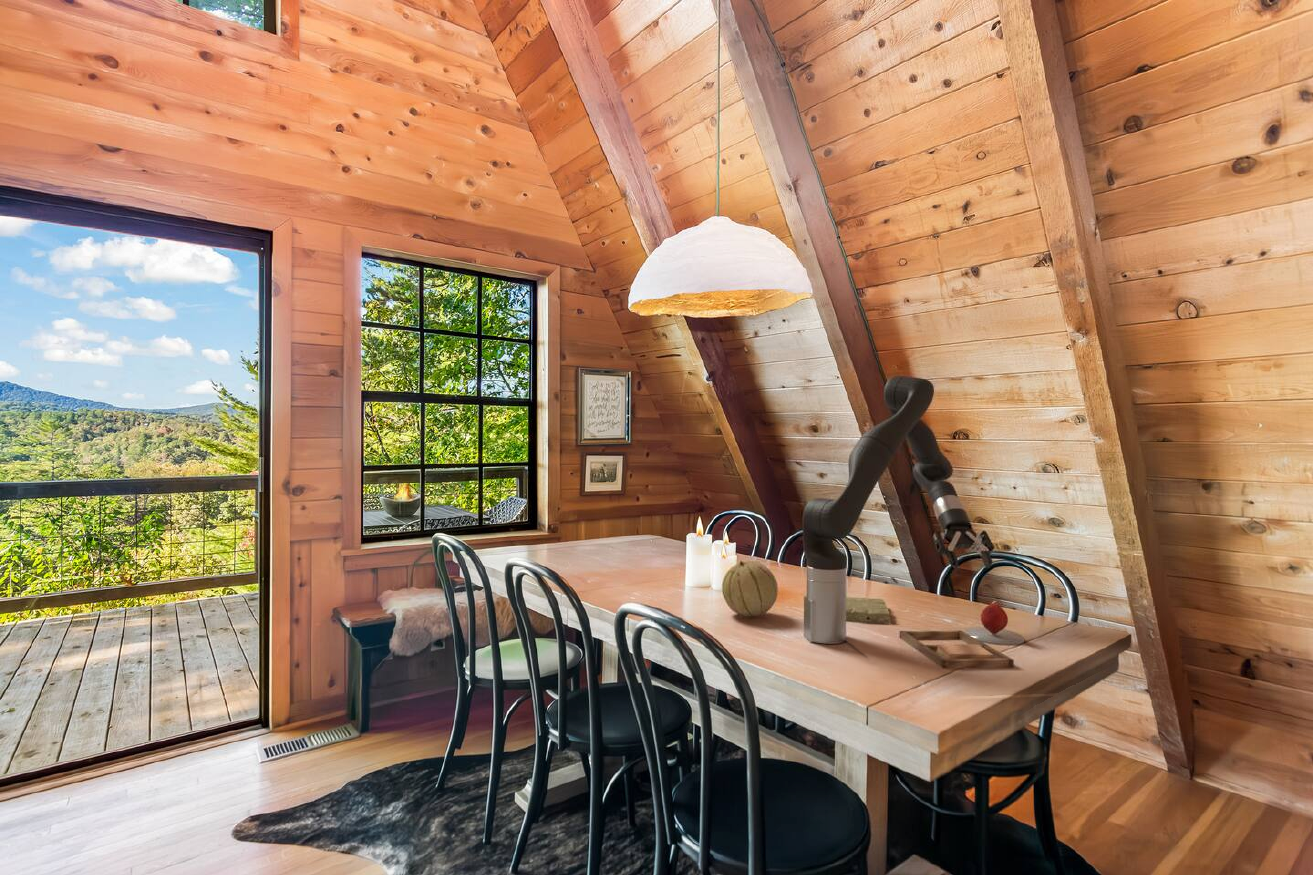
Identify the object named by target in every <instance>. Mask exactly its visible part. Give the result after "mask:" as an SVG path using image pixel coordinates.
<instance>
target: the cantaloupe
mask: <svg viewBox="0 0 1313 875" xmlns="http://www.w3.org/2000/svg"><path fill="white" fill-rule="evenodd" d="M721 586H722V587H721V588H722V589H721V591H722V596H723V599H724V601H725V603H726V604H727V606H728V607H729V609H730V610H731V611H732V612H734V613H735V614H737V615H739V616H742V617H753V618H754V617H758V616H763V615H764V614H766V613H768V612H769V611H770V610H771V609H772V607H773V606H774V604H775V603H776V601H777V598H778V595H779V594H778V592H779V591H778V590H779V588H778V582H777V580H776V576H775V575H774V574H773V572H772V571H771V570H770V569H769V568H768V567H767V566H765V565H764V564H762V563H761V562H758V561H754V560H748V561H743V560H740V561H739V562H738V563H737V564H735V565H733V566H732V567H730V568H729V570H727V572H726V573H725V575H724V576H723V579H722V584H721Z"/></svg>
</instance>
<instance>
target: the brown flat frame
mask: <svg viewBox="0 0 1313 875" xmlns="http://www.w3.org/2000/svg"><path fill="white" fill-rule="evenodd" d="M899 639H901V640H902V641H904V642H905V643H906V644H907V645H909V646H910V647H912V648H914V649H915V650H916V651H918V652H919V653H921V654H922V655H923V656H925V657H926V658H928V659H929V660H931V661H932V662H933V663H935V664H936V665H938V666H939V667H940V668H942V669H993V668H994V669H1000V668H1001V669H1003V668H1004V669H1006V668H1009V669H1011V668H1012V669H1013V668H1014V659H1012V658H1011V657H1010V656H1007V655H1005V654H1004V653H1002V652H1000V651H999V650H996V649H995V648H993V647H991V646H989V645H988V644H987V643H984V642H981V641H979V640H977V639H975V638H973V637H972V636H970V635H968V634H966V633H964V630H900V631H899ZM924 639H925V640H932V639H933V640H935V639H937V640H939V639H941V640H942V639H943V640H944V639H947V640H948V639H955V640H956V639H959V640H961V641H962V642H964V643H963V644H953V645H979V646H981V647H982V648H984V649H985V650H987V651H988V652H990V653H991V654H993V659H945V658H943V657H942V656H940V655H939V654H937V653H936V651H938V645H939V644H923V642H921V641H919V640H924Z"/></svg>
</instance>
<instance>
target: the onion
mask: <svg viewBox="0 0 1313 875" xmlns="http://www.w3.org/2000/svg"><path fill="white" fill-rule="evenodd" d="M980 621H981V625H982V627H985V628H986V629H987V630H988V631H990V632H991V633H992V634H997V633H998V632H999V631H1001V630H1003V629H1004V630H1005V628H1007V626H1008V624H1009V623H1008V622H1009V617H1008V615H1007V612H1006V611H1005V610H1004V608H1002V607H1001V606H1000V605H999V601H997V600H994V601H992V602H991V603H990V604H989V605H987V606H985V607H984V608H983V609H982V610H981V614H980Z"/></svg>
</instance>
